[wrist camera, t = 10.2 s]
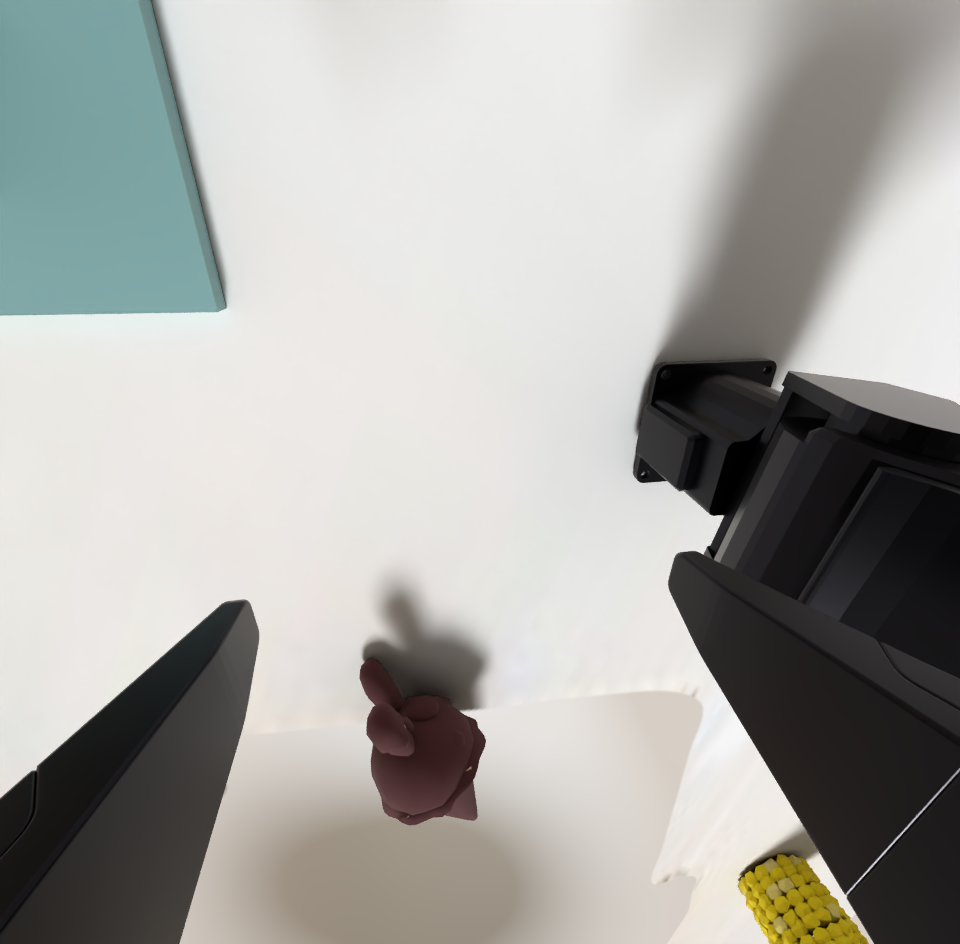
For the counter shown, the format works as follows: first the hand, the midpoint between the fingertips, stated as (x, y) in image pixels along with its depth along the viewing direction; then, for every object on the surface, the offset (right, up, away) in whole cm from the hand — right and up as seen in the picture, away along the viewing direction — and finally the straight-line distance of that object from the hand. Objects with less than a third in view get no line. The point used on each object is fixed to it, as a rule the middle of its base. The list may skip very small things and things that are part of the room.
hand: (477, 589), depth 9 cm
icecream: (-4, -14, +22) cm, 26 cm away
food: (+38, -48, +48) cm, 78 cm away
